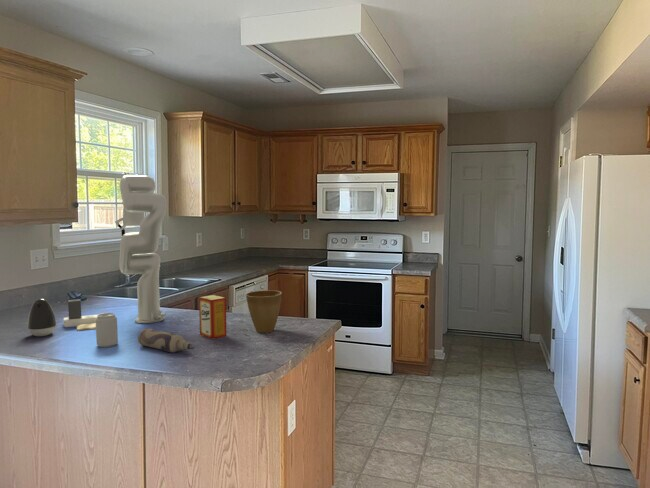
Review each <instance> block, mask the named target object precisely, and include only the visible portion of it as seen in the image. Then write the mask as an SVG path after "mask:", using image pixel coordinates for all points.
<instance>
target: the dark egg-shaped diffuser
mask: <svg viewBox="0 0 650 488" xmlns="http://www.w3.org/2000/svg"><path fill="white" fill-rule="evenodd" d="M27 318H28V320H27V329H28V330H29V333H30V335H33V336H35V337H47V336H49V335H51V334H52V333H53V332H54V330H55V329H56V326H57V321H56V316H55V313H54V311H53V307H52V306H51V303H50V302H49V301H48V300H47V299H45V298H38V299H36V300H35V301H34V302H33V303H32V305H31V308H30V310H29V313H28V317H27Z"/></svg>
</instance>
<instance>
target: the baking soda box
mask: <svg viewBox="0 0 650 488" xmlns="http://www.w3.org/2000/svg"><path fill="white" fill-rule="evenodd" d="M226 300H227V299H226V297H223V296H219V295H215V294H212V295H211V294H210V295H203V296H199V297H198V309H199V310H198V311H199V314H198V315H199V316H198V317H199V335H200V336H202V337H205V338H209V339H211V340H215V339H216V340H217V339H220V338H223V337H227V336H228V334H227V333H228V332H227V301H226Z"/></svg>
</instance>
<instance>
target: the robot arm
mask: <svg viewBox="0 0 650 488" xmlns="http://www.w3.org/2000/svg"><path fill="white" fill-rule="evenodd" d="M119 189H120V191H119V192H120V196H121V205H122V207H123V208H122V217H120V218H119V219H117V220H115V222H114V223H115V224H116V226H117V228H119V229H120V231H121V238H120V246H119V261H118V262H119V263H118V266H119V271H120V273H121V274H123V275H141V276H140V277H139V279H138V280H137V283H136V288H137V289H136V292H137V314H138V316H137V317H136V318H134V322H135V323H138V324H152V323H159V322H162V321H163V320H164V319H165V317H166V313H162V310H161V305H160V304H161V301H160V268H161V257H160V255H159V254H158V253H156V251H158V248H159V244H160V236H161V234H160V233H161V226H162V223H163V221H164V219H165V216H166V213H167V205H168V204H167V197H165V195H164V194H161V193H158V192H155V190H156V181H155V180H154V178H153V177H150V176H149V175H144V174H143V175H137V174H136V175H135V174H126V175H123V176H122V177H121V179H120V181H119ZM145 213H148V214H147V215H145ZM121 222H122V225H121V224H120V223H121ZM138 226H139V231H137V232H126V230H125V228H127V227H138Z"/></svg>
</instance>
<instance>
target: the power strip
mask: <svg viewBox="0 0 650 488" xmlns="http://www.w3.org/2000/svg"><path fill="white" fill-rule="evenodd" d="M103 313H104V312H101V313H99V314H103ZM99 314H90V315H81V318H80V319H70V320H69V316H68V317H63V328H69V327H77V325H83V324H92V323H96V318H97V317H98V316H97V315H99Z"/></svg>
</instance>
